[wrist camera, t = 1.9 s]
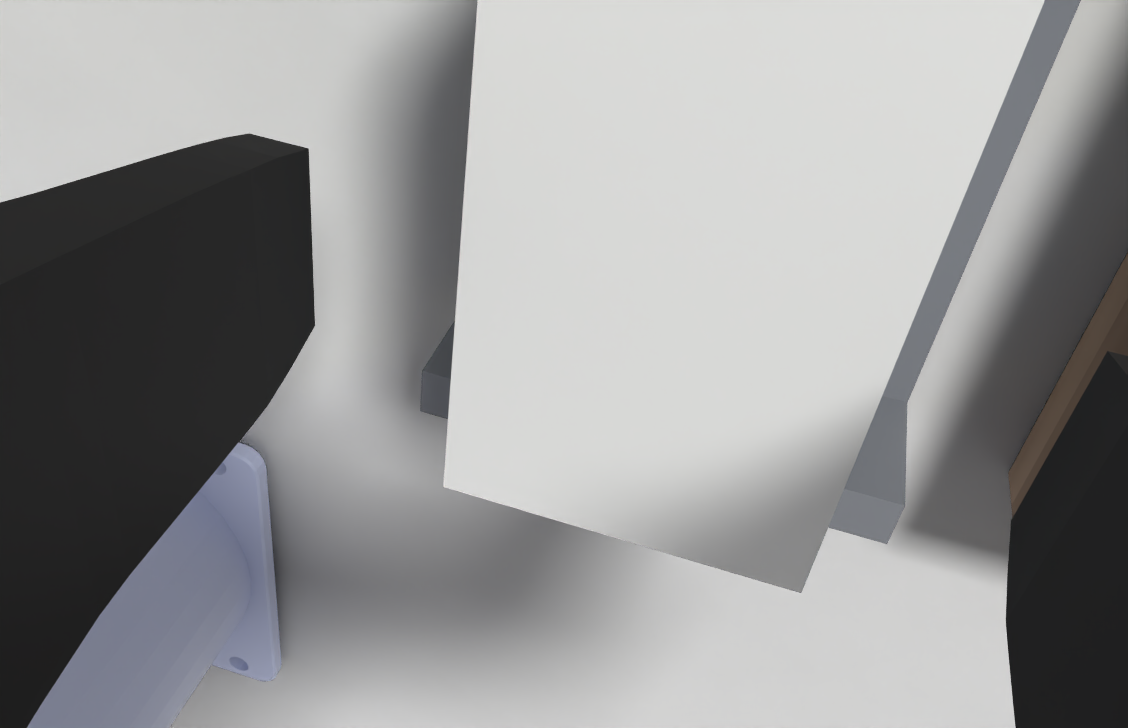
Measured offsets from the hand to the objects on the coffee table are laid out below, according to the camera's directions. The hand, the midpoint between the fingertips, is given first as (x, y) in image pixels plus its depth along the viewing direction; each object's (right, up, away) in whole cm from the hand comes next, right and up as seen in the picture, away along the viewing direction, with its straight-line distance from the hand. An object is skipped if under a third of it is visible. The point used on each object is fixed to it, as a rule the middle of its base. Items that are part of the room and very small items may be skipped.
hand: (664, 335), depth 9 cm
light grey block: (+2, +4, +5) cm, 7 cm away
